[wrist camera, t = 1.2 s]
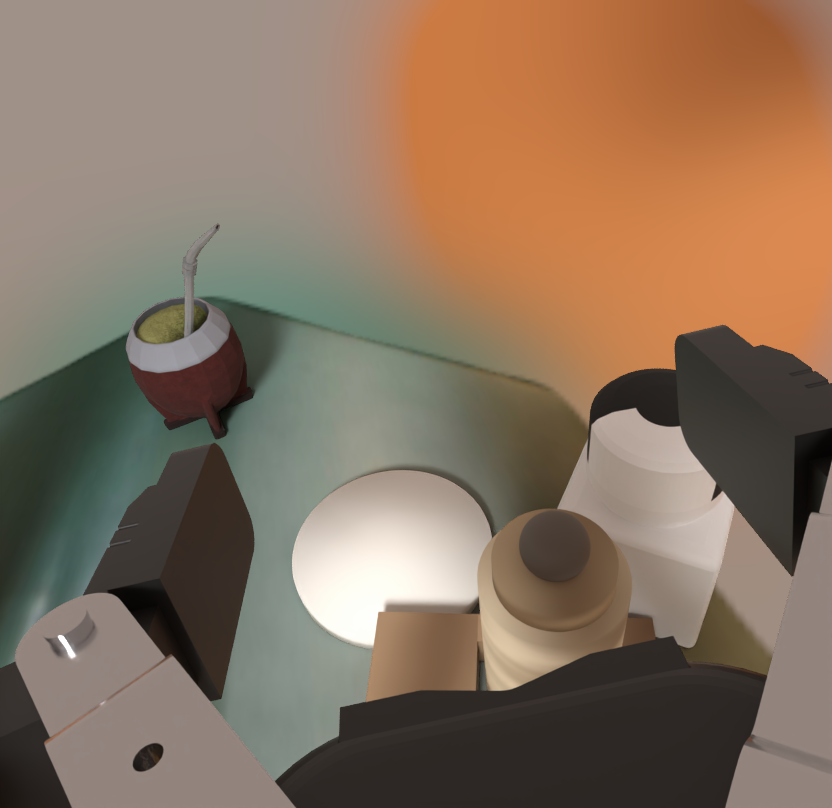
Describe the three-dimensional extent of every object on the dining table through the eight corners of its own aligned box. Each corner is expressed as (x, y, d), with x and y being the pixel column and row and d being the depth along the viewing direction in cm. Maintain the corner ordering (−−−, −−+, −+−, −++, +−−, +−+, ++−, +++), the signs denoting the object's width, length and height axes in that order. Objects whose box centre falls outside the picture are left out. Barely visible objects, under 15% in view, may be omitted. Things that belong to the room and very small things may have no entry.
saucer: (276, 646, 36) (271, 637, 36) (316, 480, 44) (313, 470, 43) (491, 653, 35) (491, 643, 34) (494, 480, 43) (493, 469, 42)
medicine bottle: (589, 499, 41) (605, 335, 33) (720, 538, 38) (773, 369, 30) (548, 601, 36) (554, 442, 28) (692, 653, 34) (746, 493, 25)
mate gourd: (152, 400, 52) (58, 213, 41) (255, 361, 54) (190, 174, 43) (172, 466, 46) (71, 273, 36) (286, 421, 48) (220, 225, 38)
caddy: (358, 829, 30) (349, 814, 28) (384, 631, 36) (378, 611, 35) (680, 851, 28) (688, 836, 27) (647, 639, 34) (652, 618, 33)
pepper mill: (490, 786, 30) (469, 596, 20) (491, 673, 34) (475, 462, 24) (609, 793, 30) (653, 600, 19) (598, 677, 33) (630, 461, 23)
